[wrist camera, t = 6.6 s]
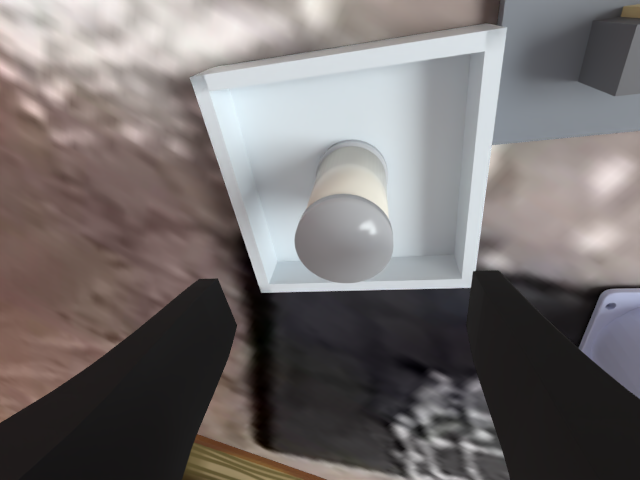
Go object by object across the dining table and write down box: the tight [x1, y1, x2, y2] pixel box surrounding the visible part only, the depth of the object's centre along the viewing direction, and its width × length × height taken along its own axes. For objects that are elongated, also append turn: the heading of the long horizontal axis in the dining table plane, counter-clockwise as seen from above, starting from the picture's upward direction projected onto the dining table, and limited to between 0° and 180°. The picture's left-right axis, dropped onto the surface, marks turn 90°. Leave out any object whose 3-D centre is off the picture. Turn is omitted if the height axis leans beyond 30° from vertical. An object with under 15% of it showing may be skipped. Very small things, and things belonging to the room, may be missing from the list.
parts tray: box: [190, 23, 507, 293], centre depth 16 cm, size 11×11×2 cm
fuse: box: [294, 140, 394, 283], centre depth 14 cm, size 3×3×6 cm
